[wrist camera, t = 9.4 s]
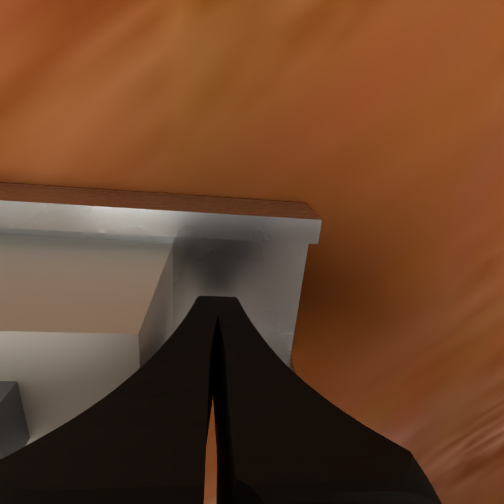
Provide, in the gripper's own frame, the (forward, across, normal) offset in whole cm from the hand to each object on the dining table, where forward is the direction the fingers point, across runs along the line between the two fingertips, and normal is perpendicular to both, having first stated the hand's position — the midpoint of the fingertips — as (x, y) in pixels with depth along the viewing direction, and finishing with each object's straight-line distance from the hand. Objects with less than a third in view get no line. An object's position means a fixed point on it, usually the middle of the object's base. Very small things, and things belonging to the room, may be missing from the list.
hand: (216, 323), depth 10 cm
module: (+2, +4, 0) cm, 5 cm away
